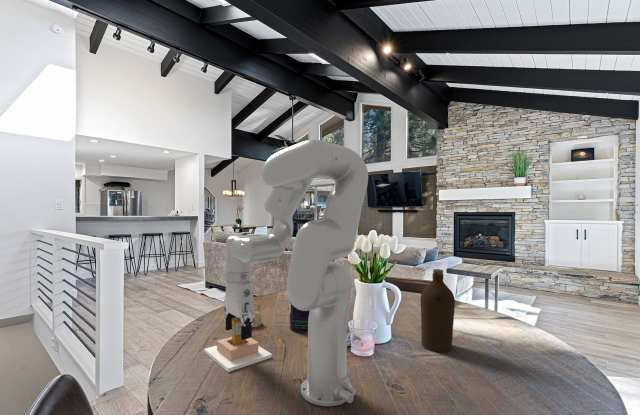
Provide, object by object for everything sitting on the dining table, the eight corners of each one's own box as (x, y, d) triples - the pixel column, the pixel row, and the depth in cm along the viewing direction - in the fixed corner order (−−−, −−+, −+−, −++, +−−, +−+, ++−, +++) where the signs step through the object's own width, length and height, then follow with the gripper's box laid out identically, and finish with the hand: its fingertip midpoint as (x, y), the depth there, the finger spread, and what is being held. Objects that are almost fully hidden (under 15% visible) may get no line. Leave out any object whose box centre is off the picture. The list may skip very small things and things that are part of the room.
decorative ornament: (264, 325, 127) (265, 311, 127) (243, 329, 123) (243, 314, 123) (260, 322, 131) (260, 308, 131) (239, 326, 126) (239, 311, 126)
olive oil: (461, 351, 107) (462, 272, 107) (431, 354, 104) (432, 273, 104) (441, 338, 117) (442, 266, 117) (413, 341, 115) (415, 267, 114)
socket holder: (271, 357, 101) (272, 344, 101) (228, 372, 91) (228, 357, 91) (245, 340, 113) (245, 328, 113) (204, 352, 103) (204, 339, 103)
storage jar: (285, 331, 121) (286, 289, 121) (294, 322, 131) (294, 283, 131) (312, 334, 119) (313, 292, 119) (319, 324, 128) (319, 285, 128)
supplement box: (230, 350, 103) (231, 317, 102) (242, 348, 104) (242, 316, 104) (233, 354, 100) (233, 320, 99) (244, 352, 101) (245, 319, 101)
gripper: (265, 280, 98) (264, 339, 98) (236, 271, 111) (235, 323, 111) (241, 283, 93) (240, 346, 93) (214, 273, 106) (214, 328, 106)
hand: (238, 333), depth 102 cm, fingers open, 9 cm apart
